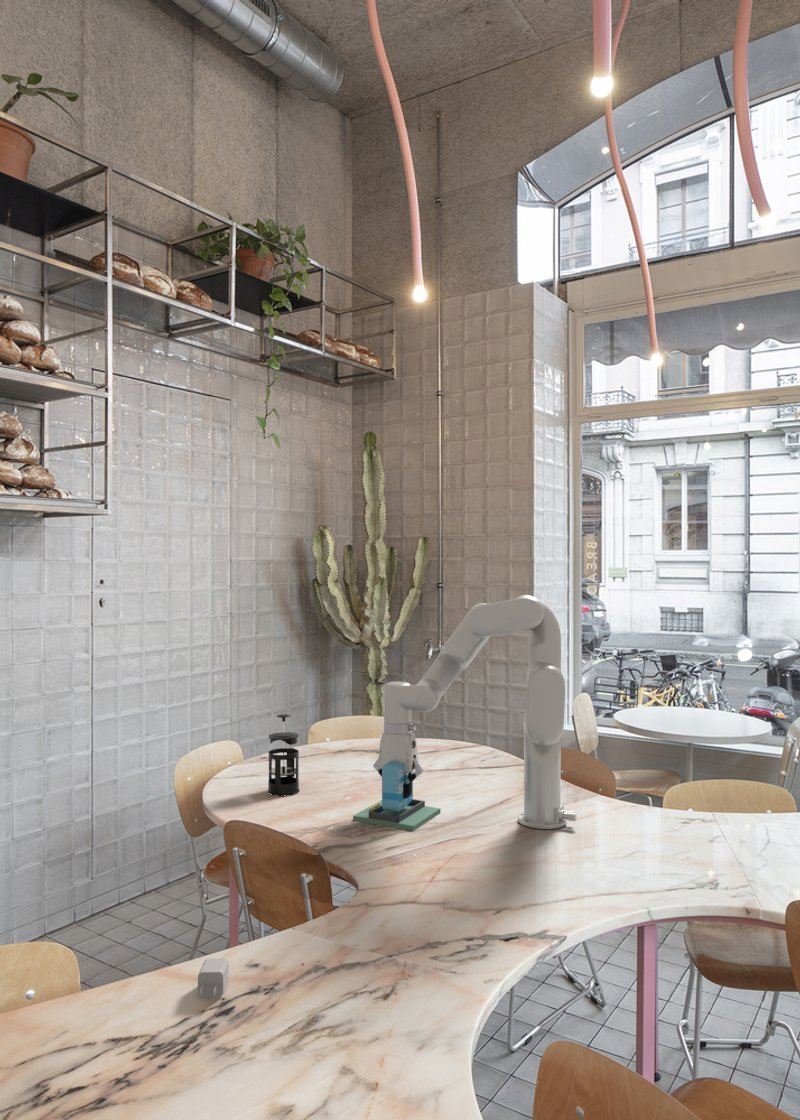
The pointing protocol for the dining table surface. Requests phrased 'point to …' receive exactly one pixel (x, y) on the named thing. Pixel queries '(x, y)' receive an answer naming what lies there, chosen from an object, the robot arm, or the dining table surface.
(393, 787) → the data package
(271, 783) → the french press
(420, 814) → the circuit board
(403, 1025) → the dining table surface
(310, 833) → the dining table surface
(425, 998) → the dining table surface
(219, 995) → the usb wall charger
